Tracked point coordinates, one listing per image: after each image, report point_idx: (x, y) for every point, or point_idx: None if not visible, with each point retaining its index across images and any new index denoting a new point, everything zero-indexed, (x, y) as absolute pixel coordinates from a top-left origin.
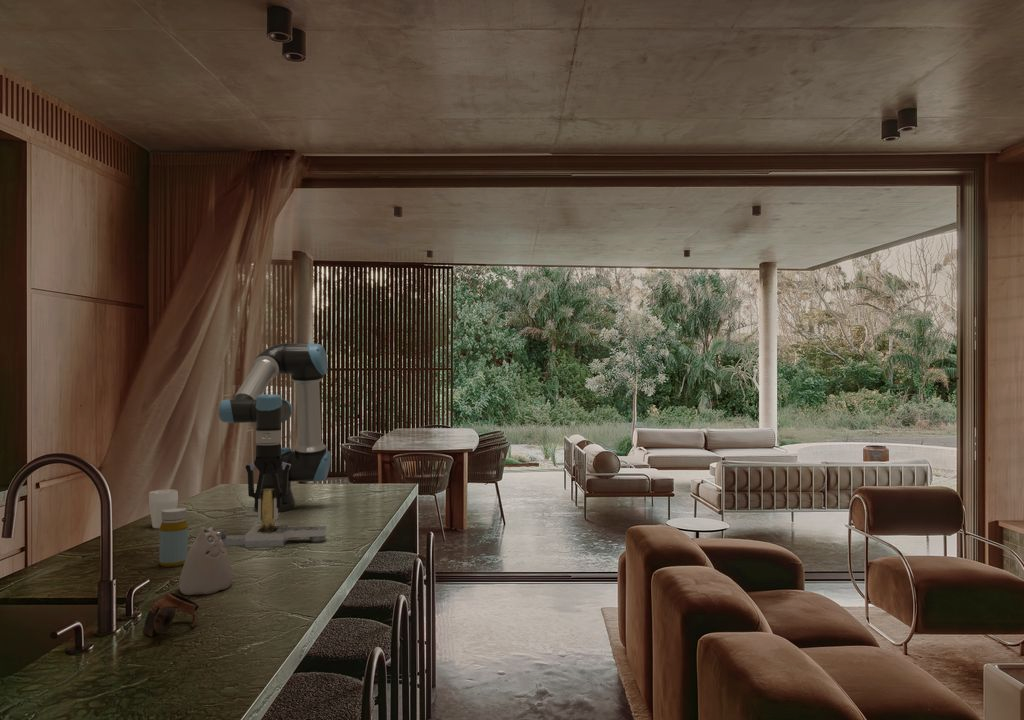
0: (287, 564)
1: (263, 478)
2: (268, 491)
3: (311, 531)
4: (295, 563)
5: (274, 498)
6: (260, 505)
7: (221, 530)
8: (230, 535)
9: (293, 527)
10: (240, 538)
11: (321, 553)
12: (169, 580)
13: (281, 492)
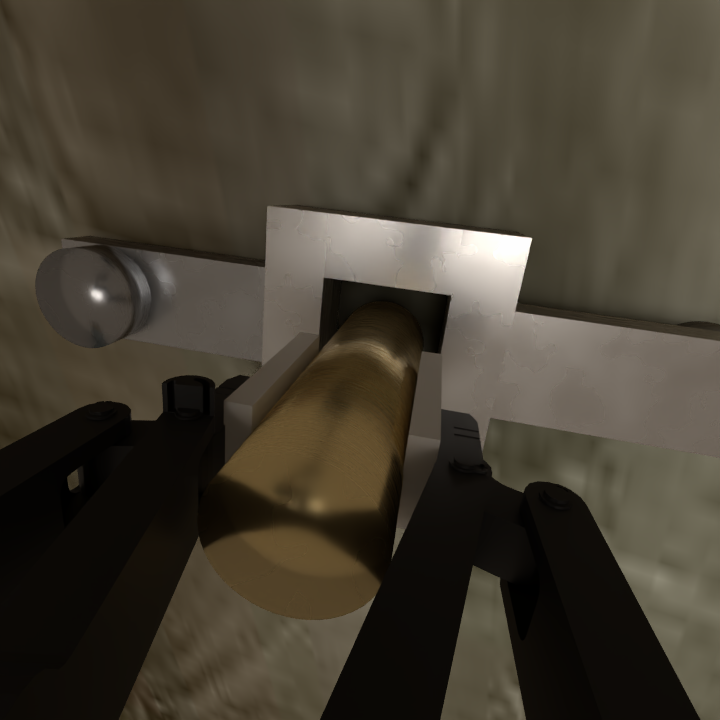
0: (485, 697)
1: (93, 668)
2: (309, 608)
3: (672, 445)
4: (516, 697)
5: (400, 518)
6: None
7: (96, 284)
8: (162, 254)
9: (557, 330)
10: (235, 348)
11: (652, 613)
12: (139, 700)
13: (491, 516)
